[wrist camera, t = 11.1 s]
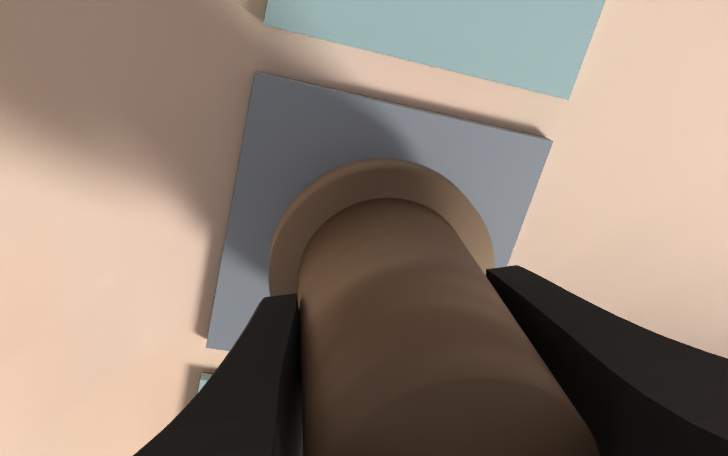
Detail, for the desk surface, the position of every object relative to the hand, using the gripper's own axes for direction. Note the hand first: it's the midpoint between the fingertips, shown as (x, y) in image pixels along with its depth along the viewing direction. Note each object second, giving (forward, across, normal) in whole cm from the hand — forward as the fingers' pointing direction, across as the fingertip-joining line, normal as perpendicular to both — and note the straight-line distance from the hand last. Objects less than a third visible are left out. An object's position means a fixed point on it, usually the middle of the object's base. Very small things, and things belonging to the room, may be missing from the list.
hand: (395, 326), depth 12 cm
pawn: (+2, 0, 0) cm, 2 cm away
